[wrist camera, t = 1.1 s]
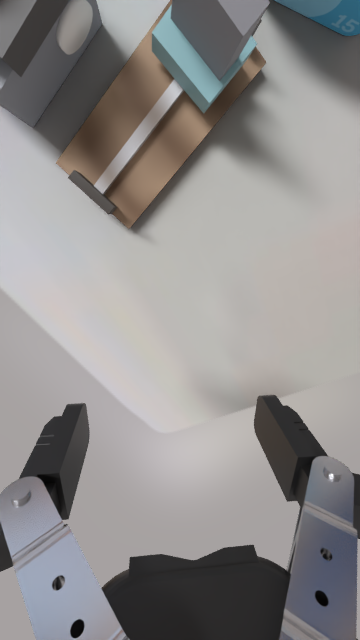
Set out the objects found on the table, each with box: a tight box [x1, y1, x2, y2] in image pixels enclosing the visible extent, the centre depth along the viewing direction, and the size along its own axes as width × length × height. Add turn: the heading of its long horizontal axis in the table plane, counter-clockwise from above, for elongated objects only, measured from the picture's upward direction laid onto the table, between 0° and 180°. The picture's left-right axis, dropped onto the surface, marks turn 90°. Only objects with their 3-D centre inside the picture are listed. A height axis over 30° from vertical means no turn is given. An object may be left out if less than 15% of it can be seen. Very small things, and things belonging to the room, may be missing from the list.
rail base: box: [56, 0, 266, 229], centre depth 28 cm, size 22×10×4 cm, turn 137°
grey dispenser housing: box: [0, 0, 102, 128], centre depth 22 cm, size 12×8×11 cm
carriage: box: [152, 0, 270, 113], centre depth 22 cm, size 6×7×10 cm
